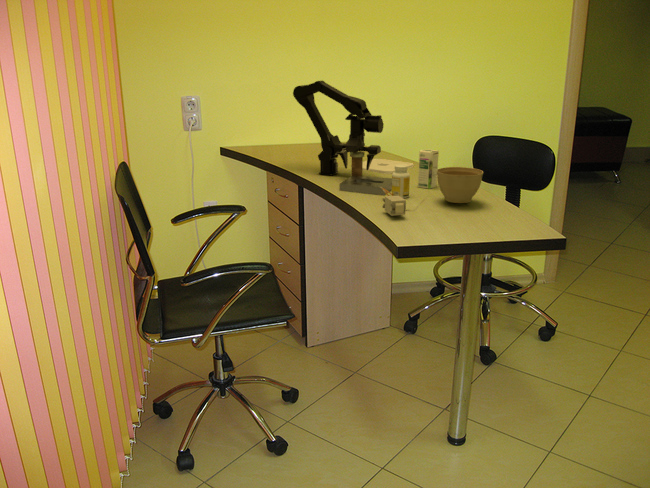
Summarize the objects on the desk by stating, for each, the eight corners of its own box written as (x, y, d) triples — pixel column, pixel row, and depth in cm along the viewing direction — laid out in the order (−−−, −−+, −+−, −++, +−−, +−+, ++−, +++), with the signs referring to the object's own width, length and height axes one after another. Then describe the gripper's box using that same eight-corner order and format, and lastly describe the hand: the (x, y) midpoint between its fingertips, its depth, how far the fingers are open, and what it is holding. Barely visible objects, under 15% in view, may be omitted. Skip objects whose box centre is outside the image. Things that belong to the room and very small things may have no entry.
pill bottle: (410, 195, 229) (411, 164, 225) (407, 199, 223) (408, 168, 220) (393, 194, 231) (394, 163, 227) (389, 198, 225) (390, 166, 222)
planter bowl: (490, 202, 219) (492, 172, 216) (457, 208, 211) (459, 177, 208) (458, 192, 232) (460, 164, 229) (426, 198, 224) (427, 169, 221)
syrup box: (417, 187, 241) (418, 150, 237) (424, 184, 246) (426, 148, 241) (430, 189, 238) (432, 152, 233) (437, 186, 243) (439, 150, 238)
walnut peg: (347, 181, 252) (347, 153, 249) (352, 178, 258) (352, 150, 254) (361, 182, 250) (361, 154, 247) (365, 179, 256) (366, 151, 252)
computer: (390, 178, 259) (390, 171, 259) (348, 171, 272) (348, 165, 271) (416, 169, 276) (416, 163, 275) (374, 163, 289) (375, 158, 288)
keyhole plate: (339, 191, 236) (339, 183, 235) (352, 182, 250) (353, 175, 249) (384, 195, 229) (384, 187, 228) (395, 186, 243) (396, 178, 242)
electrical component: (368, 199, 224) (368, 185, 223) (383, 198, 226) (384, 184, 224) (391, 216, 202) (391, 202, 201) (408, 215, 204) (408, 200, 202)
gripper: (328, 133, 244) (328, 171, 249) (373, 135, 237) (372, 175, 242) (338, 129, 254) (338, 166, 259) (381, 131, 247) (380, 169, 252)
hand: (356, 169), depth 253 cm, fingers open, 9 cm apart
